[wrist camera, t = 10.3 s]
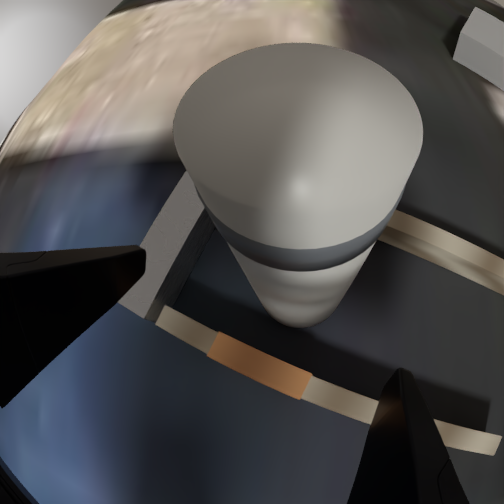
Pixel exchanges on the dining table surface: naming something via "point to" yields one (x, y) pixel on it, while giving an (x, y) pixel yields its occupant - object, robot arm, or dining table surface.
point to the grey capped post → (299, 167)
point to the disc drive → (482, 46)
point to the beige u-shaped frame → (266, 366)
